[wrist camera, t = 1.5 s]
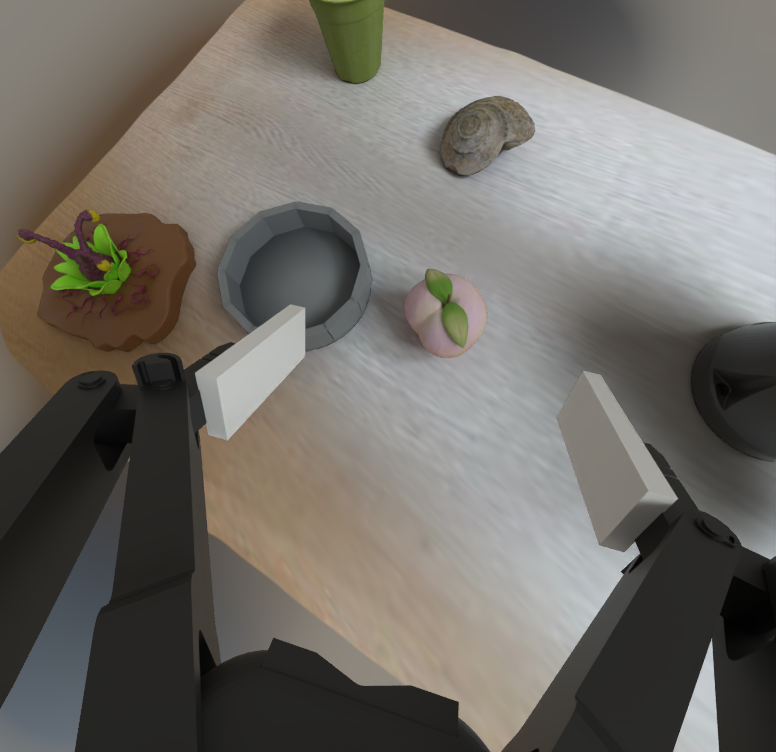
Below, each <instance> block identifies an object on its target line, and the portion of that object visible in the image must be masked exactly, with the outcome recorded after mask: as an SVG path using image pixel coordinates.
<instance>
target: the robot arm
mask: <svg viewBox="0 0 776 752" xmlns="http://www.w3.org/2000/svg"><path fill="white" fill-rule="evenodd" d="M304 357H305V307H300V306H296V305H291V304H290V305H289V306H287V307H286V308H285V309H283V310H282V311H281V312H279V313H278V314H276V315H275V316H274V317H272V318H271V319H269V320H268V321H267V322H265V323H264V324H262V325H261V326H260V327H258V328H257V329H255V330H254V331H253V332H251V333H250V334H248V335H247V336H246V337H244V338H243V339H242V340H240V341H239V342H237V343H236V344H235V343H231V342H230V343H227V344H225V345H222V346H219V347H217V348H216V349H214V350H213V351H211V352H210V353H209V354H207V355H205V356H204V357H202V359H199V360H198V361H196V362H195V363H194V364H192V365H191V366H189V367H188V368H186V369H185V370H184V369H183V365H182V361H181V359H180V357H179V356H177V355H175V354H171V353H156V354H150V355H147V356H144V357H141V358H139V359H138V360H136V361H135V362H134V363H133V365H132V368H133V371H134V374H135V377H136V380H137V383H138V385H125V384H120V383H119V381H118V378H117V376H116V375H115V374H114V373H112V372H109V371H91V372H87V373H82V374H80V375H78V376H76V377H73V378H72V379H70V380H69V381H68V382H66V383H65V384H64V385H63V387H62V388H61V389H60V390H59V391H58V392H57V393H56V394H55V395H54V396H53V397H52V399H51V400H50V401H49V402H48V403H47V404H46V405H45V406H44V407H43V408H42V409H41V410H40V411H39V412H38V414H37V415H36V416H35V417H34V418H33V419H32V420H31V421H30V422H29V423H28V424H27V425H26V426H25V428H24V429H23V430H22V431H21V432H20V433H19V434H18V435H17V436H16V437H15V438H14V439H13V440H12V442H11V443H10V444H9V445H8V446H7V447H6V448H5V449H4V450H3V451H2V452H1V454H0V708H1V706H2V704H3V703H4V701H5V699H6V697H7V696H8V694H9V692H10V690H11V688H12V687H13V685H14V683H15V681H16V679H17V677H18V675H19V673H20V671H21V669H22V667H23V665H24V663H25V661H26V659H27V657H28V655H29V653H30V651H31V649H32V647H33V645H34V643H35V641H36V639H37V637H38V635H39V634H40V632H41V630H42V628H43V626H44V624H45V622H46V620H47V618H48V616H49V614H50V612H51V610H52V608H53V606H54V604H55V602H56V600H57V598H58V596H59V594H60V592H61V590H62V588H63V586H64V584H65V582H66V580H67V579H68V577H69V575H70V573H71V571H72V568H73V567H74V565H75V563H76V561H77V559H78V557H79V555H80V553H81V551H82V549H83V547H84V545H85V543H86V541H87V539H88V537H89V535H90V533H91V531H92V529H93V527H94V525H95V523H96V522H97V520H98V518H99V516H100V514H101V512H102V510H103V508H104V505H105V504H106V502H107V500H108V498H109V496H110V494H111V492H112V490H113V488H114V486H115V484H116V482H117V480H118V478H119V476H120V474H121V472H122V470H123V468H124V466H125V464H126V463H127V461H128V459H129V457H130V462H129V470H128V477H127V485H126V492H125V500H124V508H123V516H122V523H121V531H120V538H119V545H118V546H119V547H118V553H117V561H116V568H115V576H114V584H113V592H112V597H111V600H110V602H109V604H107V605H106V606H104V607H102V608H101V610H100V612H99V614H98V616H97V619H96V623H95V628H94V633H93V639H92V646H91V652H90V658H89V665H88V671H87V677H86V684H85V690H84V697H83V703H82V709H81V715H80V722H79V728H78V734H77V741H76V748H75V752H490V751H489V749H488V748H487V746H486V745H485V744H484V743H483V741H482V740H481V739H480V738H479V737H478V735H477V734H476V733H475V732H474V731H473V730H472V729H471V728H470V727H469V726H468V725H467V724H466V723H465V722H464V721H462V720H461V719H460V718H458V706H459V702H457V701H454V700H451V699H448V698H446V697H443V696H440V695H437V694H434V693H431V692H428V691H425V690H422V689H420V688H417V687H414V686H361V685H358V684H356V683H355V682H353V681H352V680H351V679H350V678H348V677H347V676H346V675H344V674H343V673H342V672H340V671H339V670H338V669H337V668H335V667H334V666H333V665H332V664H330V663H329V662H328V661H327V660H325V659H324V658H323V657H321V656H320V655H319V654H318V653H316V652H313V651H310V650H307V649H304V648H301V647H298V646H295V645H293V644H289V643H287V642H284V641H281V640H278V639H275V638H273V640H272V642H271V645H270V647H269V649H268V650H260V651H254V652H248V653H245V654H242V655H239V656H236V657H234V658H232V659H229V660H227V661H225V662H223V663H221V660H220V651H219V644H218V638H217V633H216V627H215V617H214V605H213V593H212V581H211V569H210V556H209V544H208V531H207V519H206V507H205V494H204V482H203V470H202V458H201V445H200V436H199V431H198V430H199V429H200V428H201V427H202V426H203V425H205V424H206V426H207V431H208V435H210V436H213V437H217V438H220V439H224V440H227V441H228V439H229V438H230V437H231V436H232V435H233V434H234V433H235V432H236V431H237V430H238V429H239V427H240V426H241V425H242V424H243V423H244V422H245V421H246V420H247V419H248V418H249V417H250V416H251V414H252V413H253V412H254V411H255V410H256V409H257V408H258V407H259V406H260V405H261V404H262V403H263V401H264V400H265V399H266V398H267V397H268V396H269V395H270V394H271V393H272V392H273V391H274V389H275V388H276V387H277V386H278V385H279V384H280V383H281V382H282V381H283V380H284V379H285V378H286V376H287V375H288V374H289V373H290V372H291V371H292V370H293V369H294V368H295V367H296V366H297V364H298V363H299V362H300V361H301V360H302V359H303V358H304ZM692 390H693V395H694V399H695V402H696V405H697V407H698V409H699V411H700V413H701V415H702V417H703V418H704V420H705V421H706V423H707V424H708V425H709V426H710V428H711V429H712V430H713V431H714V432H715V433H716V434H717V435H718V436H719V437H720V438H721V439H723V440H724V441H725V442H726V443H728V444H729V445H731V446H732V447H734V448H735V449H737V450H739V451H741V452H743V453H745V454H747V455H750V456H752V457H755V458H759V459H762V460H767V461H775V462H776V322H761V323H755V324H750V325H746V326H743V327H740V328H737V329H734V330H732V331H729V332H726V333H724V334H721V335H719V336H717V337H716V338H714V339H713V340H711V341H710V342H709V343H708V344H707V345H706V346H705V347H704V348H703V349H702V350H701V352H700V353H699V355H698V357H697V359H696V361H695V364H694V367H693V372H692ZM557 420H558V423H559V426H560V429H561V432H562V435H563V438H564V441H565V444H566V447H567V450H568V453H569V456H570V459H571V462H572V465H573V468H574V471H575V474H576V477H577V480H578V483H579V486H580V489H581V492H582V495H583V498H584V501H585V504H586V507H587V510H588V513H589V516H590V519H591V522H592V525H593V528H594V531H595V534H596V537H597V540H598V543H599V545H601V546H604V547H608V548H611V549H615V550H619V551H622V552H625V551H626V550H627V549H628V548H629V547H630V546H631V545H632V544H633V543H634V542H636V544H637V547H638V549H639V551H640V554H639V555H638V556H637V557H636V558H635V559H634V560H633V561H632V562H631V563H630V564H628V565H627V566H626V567H625V568H624V569H623V570H622V571H621V572H622V573H623V574H624V575H623V576H622V578H621V579H620V581H619V582H618V584H617V585H616V587H615V588H614V590H613V591H612V593H611V594H610V596H609V597H608V599H607V600H606V602H605V603H604V605H603V606H602V608H601V609H600V611H599V612H598V614H597V615H596V617H595V618H594V620H593V621H592V623H591V624H590V626H589V627H588V629H587V630H586V632H585V633H584V635H583V636H582V638H581V639H580V641H579V642H578V644H577V645H576V647H575V648H574V650H573V652H572V653H571V655H570V656H569V658H568V659H567V661H566V662H565V664H564V665H563V667H562V668H561V670H560V671H559V673H558V674H557V676H556V677H555V679H554V680H553V682H552V683H551V685H550V686H549V688H548V689H547V691H546V692H545V694H544V695H543V697H542V698H541V700H540V701H539V703H538V704H537V706H536V707H535V709H534V710H533V712H532V713H531V715H530V716H529V718H528V719H527V721H526V722H525V724H524V725H523V726H522V728H521V729H520V731H519V732H518V733H517V734H516V736H515V737H514V738H513V739H512V740H511V741H510V742H509V743H508V744H507V745H506V746H505V748H504V749H503V750H502V751H501V752H673V750H674V747H675V744H676V741H677V738H678V735H679V732H680V729H681V726H682V723H683V720H684V717H685V715H686V712H687V709H688V706H689V703H690V700H691V697H692V694H693V691H694V688H695V685H696V682H697V679H698V677H699V674H700V671H701V668H702V665H703V662H704V659H705V656H706V653H707V650H708V647H709V644H710V642H711V639H712V645H713V661H714V677H715V692H716V708H717V724H718V740H719V752H776V556H775V557H774V558H772V559H771V560H770V559H768V558H765V557H763V556H761V555H759V554H757V553H755V552H753V551H751V550H749V549H747V548H745V547H742V546H741V543H740V541H739V540H738V538H737V536H736V535H735V534H734V533H733V532H732V531H731V530H730V529H729V528H728V527H727V526H726V525H725V524H723V523H722V522H721V521H719V520H718V519H716V518H715V517H713V516H711V515H709V514H707V513H705V512H702V511H699V510H698V508H697V507H696V505H695V504H694V502H693V501H692V499H691V498H690V496H689V495H688V493H687V492H686V490H685V489H684V487H683V486H682V484H681V483H680V481H679V480H678V479H677V477H676V475H675V473H674V472H673V470H671V469H670V468H671V467H670V466H669V464H668V463H667V461H666V460H665V458H664V457H663V456H662V455H661V454H660V453H659V452H658V451H657V450H656V449H655V448H654V447H652V446H651V445H650V444H647V443H643V442H642V440H641V439H640V437H639V435H638V434H637V432H636V431H635V429H634V427H633V426H632V424H631V423H630V421H629V419H628V418H627V416H626V415H625V413H624V411H623V410H622V408H621V406H620V405H619V403H618V402H617V400H616V398H615V397H614V395H613V394H612V392H611V390H610V389H609V387H608V386H607V384H606V382H605V381H604V379H603V378H602V376H601V375H600V374H595V373H591V372H587V371H582V373H581V375H580V377H579V378H578V380H577V382H576V384H575V385H574V387H573V389H572V391H571V393H570V394H569V396H568V398H567V400H566V402H565V403H564V405H563V407H562V409H561V411H560V412H559V414H558V416H557Z"/></svg>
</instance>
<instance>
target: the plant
mask: <svg viewBox="0 0 776 752" xmlns="http://www.w3.org/2000/svg"><path fill="white" fill-rule="evenodd" d="M84 220H86V221H85V222H84V223H83V221H84ZM74 226H75V230H74V231H73V232H72V233H71V234H70V235H69V236H68V237H67V238H66V239H65V240H64V241H63V242H62V243H59V242H58V241H56V240H51V239H50V238H47V237H43V236H41V235H38V234H35V233H33V232H31V231H29V230H26V229H21V230H19V231H18V233H17V236H18V238H19V239H20V240H21V241H22V242H25V243H27V244H32V243H34V242H35V241H36V240H38V241H41V242H43V243H45V244H48V245H49V246H50V247H52V248H55V249H56V252H55V254H54V256H53V258H52V260H51V262H50V264H49V265H48V267H47V269H46V271H45V273H44V275H43V283H44V291H43V294H42V297H41V301H40V306H39V310H38V314H37V316H38V317H40V318H41V319H42V320H43V321H45V322H46V323H47V324H49V325H51V326H54V327H57V328H59V329H61V330H62V331H64V332H66V333H69V334H71V335H74V336H77V337H80V338H83V339H88V340H90V341H91V342H92V343H93V344H94V346H95V347H96V348H98V349H101V350H104V351H108V352H109V351H111V350H113V349H116V348H117V349H120V350H123V351H126V352H130V351H132V350H134V349H135V348H136V347H137V346H138V345H139V344H140V343H141V342H143V341H144V340H145V341H147V342H150V343H153V344H157V343H158V342H160V341H161V340H162V339H164V338H165V337H166V336H167V335H168V334H169V333H170V332H171V331H172V330H173V328H174V327H175V325H176V323H177V320H178V317H179V313H180V307H181V299H182V295H183V292H184V289H185V287H186V284H187V281H188V278H189V276H190V274H191V272H192V271H193V270H194V268H195V266H196V262H195V259H194V248H193V246H192V245H191V243H190V241H189V239H188V234H187V232H186V231H185V230H184V229H183V228H182V227H181V226H179V225H178V224H169V225H168V224H164V223H162V222H161V221H160V220H159V219H157V218H156V217H155V216H154V215H152V214H147V213H142V214H102V215H98V214H97V213H96V212H94V211H92V210H88V211H87V210H85V211H83V212H82V213H80V214H79V217H77V220H76V223H75V224H74Z"/></svg>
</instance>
